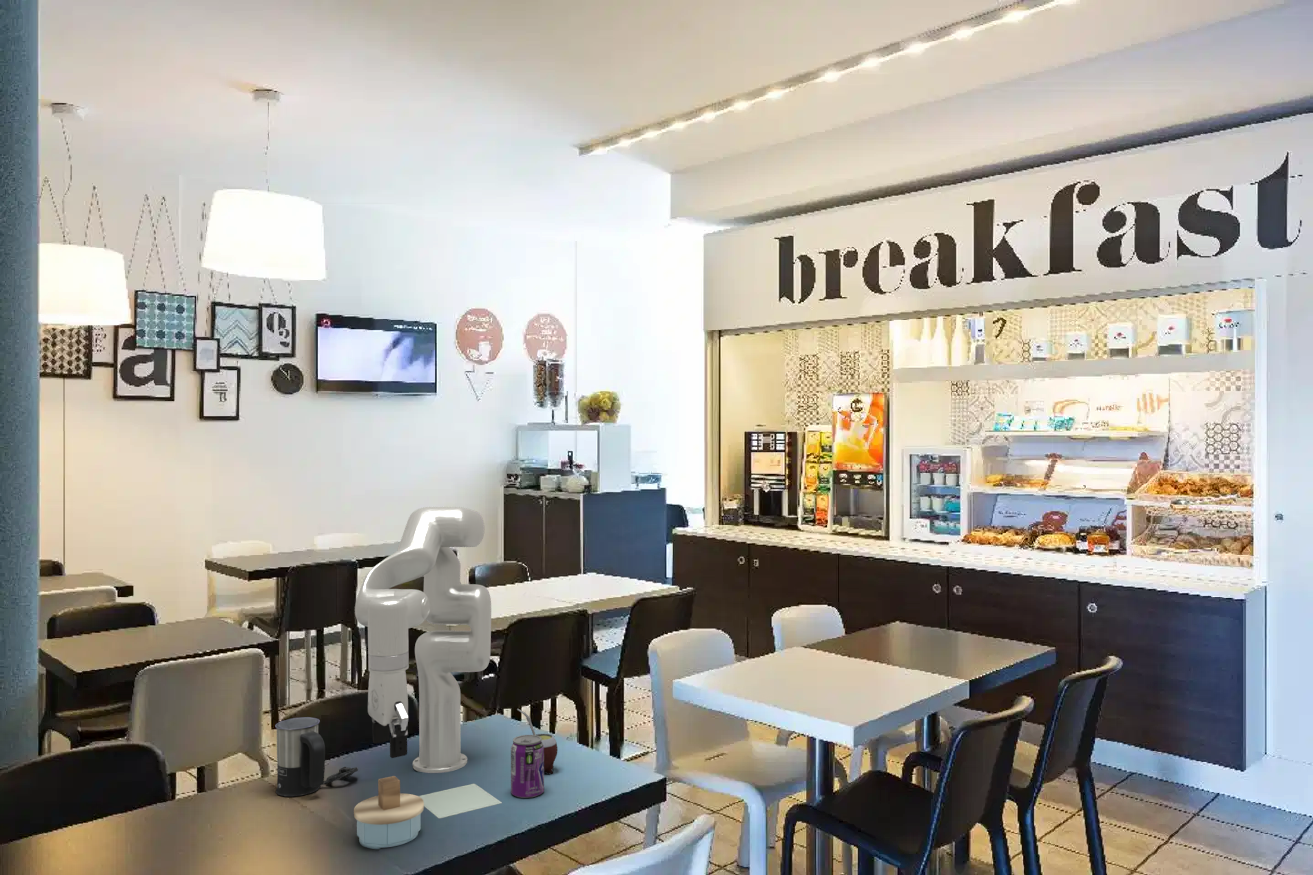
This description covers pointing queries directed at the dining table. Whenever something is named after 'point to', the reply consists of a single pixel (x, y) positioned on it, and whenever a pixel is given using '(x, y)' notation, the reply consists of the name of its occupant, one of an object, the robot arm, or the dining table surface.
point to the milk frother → (302, 758)
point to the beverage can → (527, 766)
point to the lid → (388, 804)
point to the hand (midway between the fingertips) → (389, 748)
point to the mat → (458, 800)
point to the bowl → (388, 833)
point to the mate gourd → (546, 747)
